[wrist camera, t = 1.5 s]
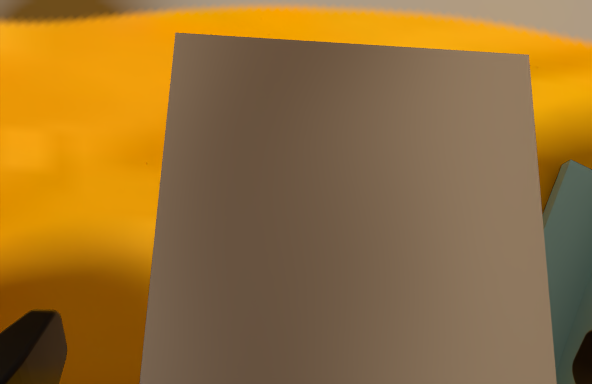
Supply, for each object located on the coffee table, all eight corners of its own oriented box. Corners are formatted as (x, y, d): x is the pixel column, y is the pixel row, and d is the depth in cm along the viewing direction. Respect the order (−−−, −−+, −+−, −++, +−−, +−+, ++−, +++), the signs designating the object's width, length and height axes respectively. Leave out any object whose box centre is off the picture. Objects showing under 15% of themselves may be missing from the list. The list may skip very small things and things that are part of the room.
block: (368, 223, 19) (528, 54, 8) (369, 371, 18) (560, 433, 6) (227, 217, 19) (175, 32, 8) (217, 366, 18) (136, 421, 6)
